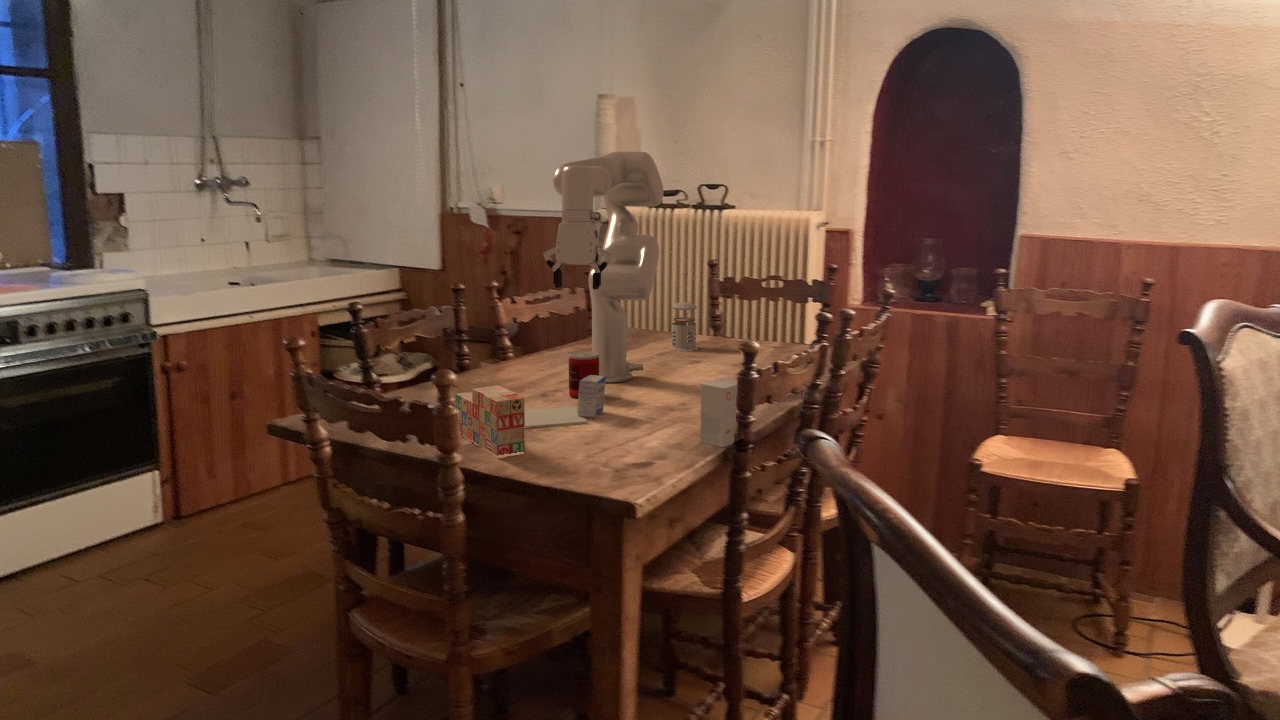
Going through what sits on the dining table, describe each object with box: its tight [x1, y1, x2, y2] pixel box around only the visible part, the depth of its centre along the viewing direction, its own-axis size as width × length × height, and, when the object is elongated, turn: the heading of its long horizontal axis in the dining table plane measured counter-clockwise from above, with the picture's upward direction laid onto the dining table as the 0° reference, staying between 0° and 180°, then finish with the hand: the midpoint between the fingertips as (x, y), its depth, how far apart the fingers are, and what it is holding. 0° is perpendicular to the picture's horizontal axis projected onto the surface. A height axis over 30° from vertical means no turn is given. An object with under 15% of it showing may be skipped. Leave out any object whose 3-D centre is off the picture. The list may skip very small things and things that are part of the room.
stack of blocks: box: [455, 384, 526, 456], centre depth 199 cm, size 21×6×12 cm, turn 33°
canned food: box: [568, 350, 599, 400], centre depth 242 cm, size 8×8×11 cm
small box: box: [699, 377, 738, 448], centre depth 202 cm, size 8×6×13 cm
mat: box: [524, 406, 589, 428], centre depth 220 cm, size 18×14×1 cm
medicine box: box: [577, 375, 606, 419], centre depth 223 cm, size 8×4×9 cm, turn 168°
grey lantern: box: [669, 271, 699, 352], centre depth 305 cm, size 10×12×25 cm
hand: (577, 288), depth 232 cm, fingers open, 9 cm apart
